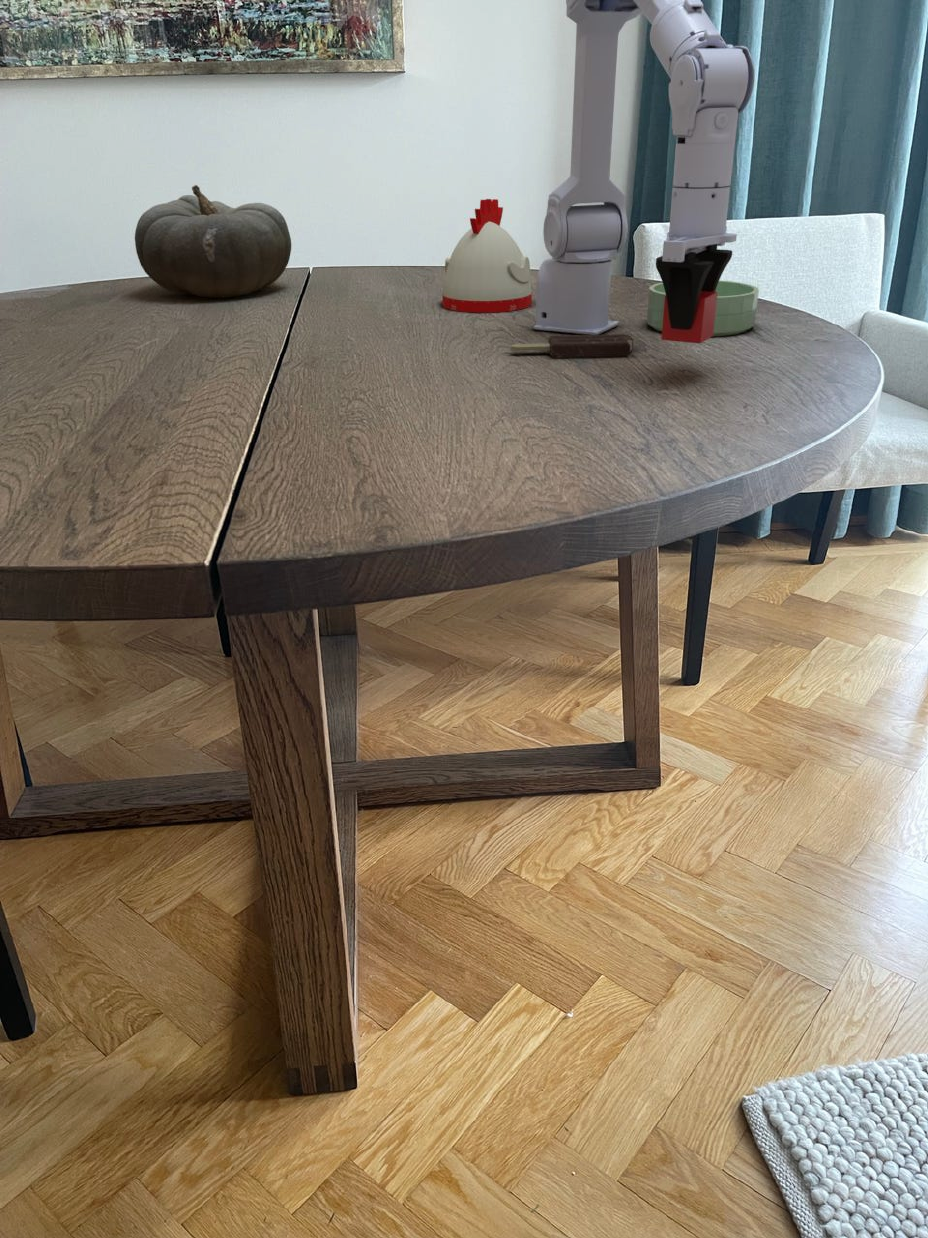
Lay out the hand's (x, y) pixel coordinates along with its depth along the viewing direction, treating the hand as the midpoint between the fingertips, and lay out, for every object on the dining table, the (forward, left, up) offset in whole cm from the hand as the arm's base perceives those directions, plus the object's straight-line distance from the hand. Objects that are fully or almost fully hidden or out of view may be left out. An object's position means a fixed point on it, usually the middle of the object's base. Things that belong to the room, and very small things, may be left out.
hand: (688, 324), depth 101 cm
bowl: (-7, +27, -6) cm, 28 cm away
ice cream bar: (-16, +5, -6) cm, 18 cm away
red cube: (0, 0, -1) cm, 1 cm away
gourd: (-90, +22, -6) cm, 93 cm away
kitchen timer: (-42, +30, -6) cm, 52 cm away
